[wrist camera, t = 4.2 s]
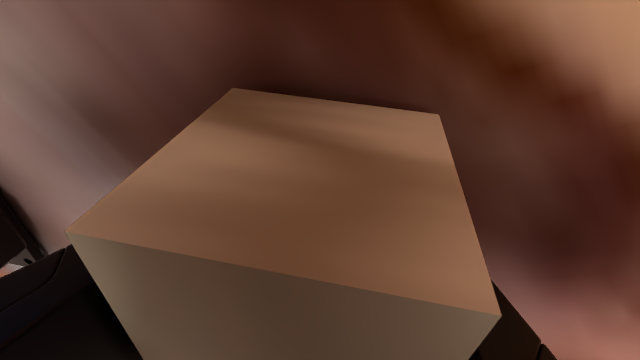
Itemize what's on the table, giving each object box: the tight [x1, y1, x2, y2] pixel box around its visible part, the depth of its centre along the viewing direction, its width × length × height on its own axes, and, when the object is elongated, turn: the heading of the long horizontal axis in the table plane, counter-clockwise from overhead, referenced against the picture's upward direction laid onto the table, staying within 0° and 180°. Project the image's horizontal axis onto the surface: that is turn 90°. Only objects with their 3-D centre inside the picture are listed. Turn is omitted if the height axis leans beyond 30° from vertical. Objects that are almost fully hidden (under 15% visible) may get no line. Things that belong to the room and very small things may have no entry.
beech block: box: [64, 88, 502, 360], centre depth 7 cm, size 5×5×5 cm
